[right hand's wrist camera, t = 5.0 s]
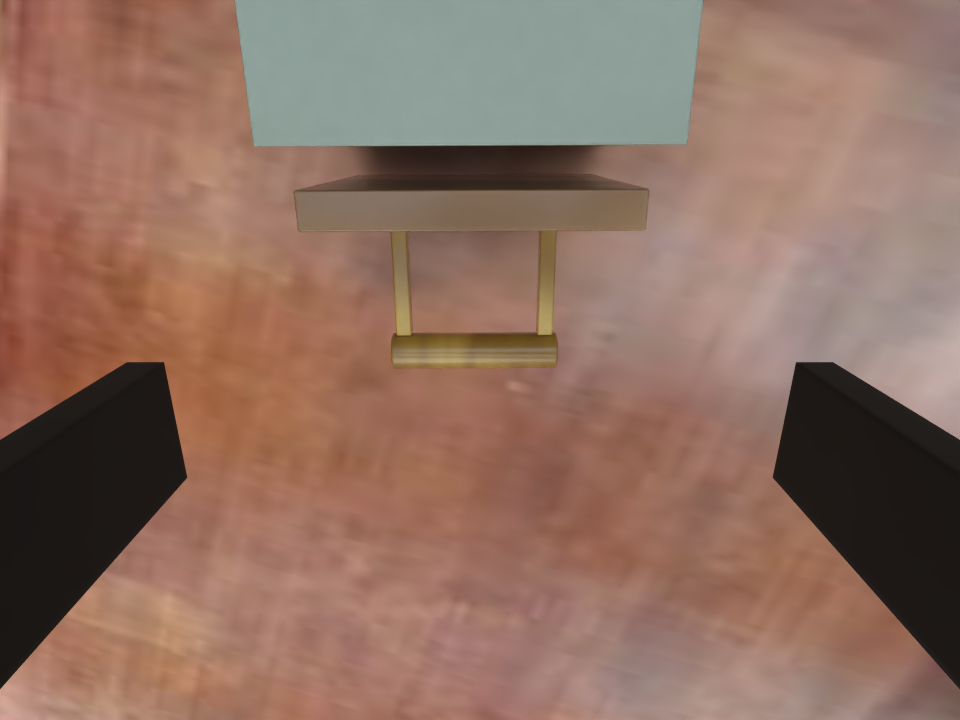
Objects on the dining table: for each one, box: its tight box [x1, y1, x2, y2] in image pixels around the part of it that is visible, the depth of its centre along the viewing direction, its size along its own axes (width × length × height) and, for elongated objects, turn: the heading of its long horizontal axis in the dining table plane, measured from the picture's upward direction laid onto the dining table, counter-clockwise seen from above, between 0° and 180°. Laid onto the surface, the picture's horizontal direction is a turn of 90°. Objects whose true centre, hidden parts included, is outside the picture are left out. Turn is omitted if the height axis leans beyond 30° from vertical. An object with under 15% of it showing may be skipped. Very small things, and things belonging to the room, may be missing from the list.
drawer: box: [294, 174, 649, 368], centre depth 20 cm, size 24×10×9 cm, turn 0°
